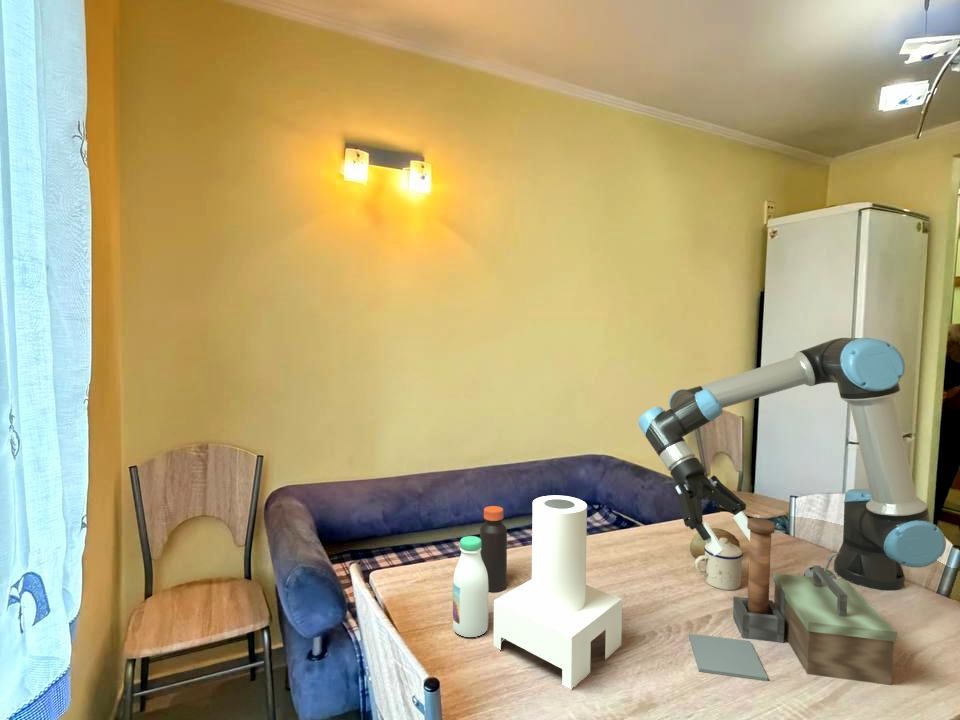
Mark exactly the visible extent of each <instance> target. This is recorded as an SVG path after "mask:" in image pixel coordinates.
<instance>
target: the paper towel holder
mask: <svg viewBox="0 0 960 720" xmlns="http://www.w3.org/2000/svg"><path fill="white" fill-rule="evenodd" d="M587 513H588V504H587V503H586V502H585V501H583V500H582V499H579V498H576V497H572V496H570V495H569V496H568V495H556V494H555V495H546V496H544V495H543V496H540V497H537V498H535V499H534V500H533V501H532V527H531V528H532V531H531V534H532V538H531V541H532V542H531V543H532V544H531V546H532V547H531V552H532V553H531V579H530V580H528V581H526V582H524V583H522V584H521V585H519V586H517V587H515V588H514V589H512V590H510V591H508V592H507V593H504V594H503V595H502V596H500V597H497V598H496V599H494V600H493V647H494V646H495V647H497V648H499V649H500V650H501V651H502V649H501V648H502V647H501V646H502V642H501V641H502V640H503V639H506V640H505V641H507V642H510V643H512V644H514V645H515V646H517V647H520V648H521V649H524V651H527V652H529V653H530V654H533V655H534V656H536V657H538V658H540V659H542V660H544V661H546V662H548V663H550V664H552V665H554V666H555V667H558V669H559V668H560V669H561V670H562V671H561V674H562V675H561V686H562V685H564V686H566V687H568V688H570V689H571V690H570V689H569V690H570V691H572V690H573V689H574V688H576V687H577V686H578V685H577V684H578V683H579V682H580V681H581V680H582V681H583V680H584V679H585V678H587V677H588V676H589V675H590V674H591V655H592V654H591V653H592V652H591V651H592V650H591V648H592V647H591V644H592V641H593V640H594V639H596V638H597V637H599V636H600V635H601V634H602V633H603V632H604V631H605V642H604V643H605V647H604V648H605V651H604V653H605V654H604V660H607V659H608V658H610V656H611V655H612V654H613V653H615V652H616V651H617V650H618V649H619V648H620V647H621V646H622V623H623V622H622V621H623V619H622V618H623V616H622V615H623V598H622V597H620V596H617V595H614V594H611V593H609V592H606V591H603V590H601V589H598V588H595V587H593V586H590V585H588V584H587V583H586V582H587V578H586V577H587V530H588V529H587V527H588V525H587V523H588V522H587V520H588V517H587V516H588V514H587ZM589 673H590V674H589ZM588 674H589V675H588ZM587 675H588V676H587ZM582 681H581V682H582ZM581 682H580V683H581ZM580 683H579V684H580ZM564 686H563V687H564ZM566 687H565V688H566ZM573 687H574V688H573ZM568 688H567V689H568ZM572 688H573V689H572Z"/></svg>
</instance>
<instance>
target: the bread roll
mask: <svg viewBox="0 0 960 720" xmlns="http://www.w3.org/2000/svg"><path fill="white" fill-rule="evenodd" d="M710 528H711V530H712V531H713V533H714V534H715V536H716V537H717V539H718V540H719V539H720V538H726V539H727V540H728V542H729V543H731V544H733V545H735V546H737V547H739V548H740V549H741V545H740V544H741V543H740V541H739V539H738V538H737V537H736V536H735V534H733V533H731V532H729V531H727V530H724V529H723V528H717V527H710ZM705 545H706V542H705V541H704V540H703V539H702V538H701V536H700V534H699V533H698V532H697V533H696V534H695V535H694V536H693V537H692V539H691V541H690V545H689V552H690V554H691V555H692V557H694V558H695V559H697V558H698V557H699V556H702V555H705V550H704V547H705Z"/></svg>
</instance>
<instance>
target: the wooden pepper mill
mask: <svg viewBox="0 0 960 720" xmlns="http://www.w3.org/2000/svg"><path fill="white" fill-rule="evenodd" d="M775 524H776V523H775V522H774V521H772V520H771V519H767V518H761V517H750V518H749V517H748V522H747V528H748V529H749V530H750V541H749V558H748V561H749V562H748V585H747V586H748V587H747V588H748V589H747V592H748V593H747V598H748V613H757V614H766V615H768V610H769V600H770V582H771V581H770V579H771V578H770V577H771V576H770V575H771V550H772V548H771V547H772V534H775V531H776V530H775V529H776V528H775V527H776V525H775Z"/></svg>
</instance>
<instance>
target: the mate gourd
mask: <svg viewBox="0 0 960 720" xmlns="http://www.w3.org/2000/svg"><path fill="white" fill-rule="evenodd" d="M838 554H840V553H838V552H835V553H832V554H831V555H829V556H828V557H827V558H826V559H827V561H826V564H825V566H824V567H822V566H820V567H821V568H822V569H823V570H824V571H825V572H826V573H827V574H828V575H829V576H830V577H831V578H832V579H838V578H837V577H836V574H835V573H834V572H833V571H832V570H830V569H828V568H829V566H830V564H831V562H832V561H833V558H834V557H836V556H837V555H838ZM803 576H809V577H813V566H809V567H808V568H807V569H806V570H805V571H804V574H803Z"/></svg>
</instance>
